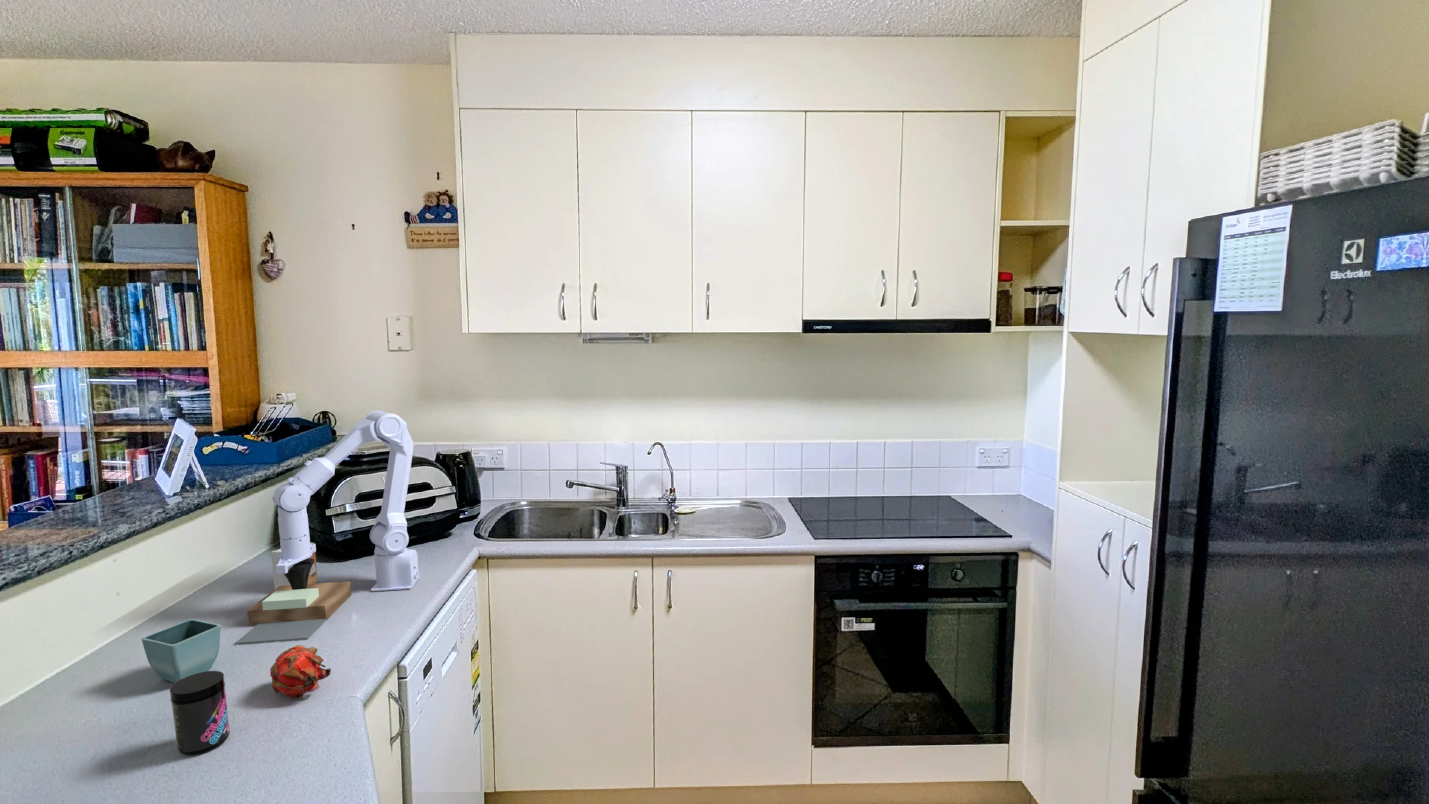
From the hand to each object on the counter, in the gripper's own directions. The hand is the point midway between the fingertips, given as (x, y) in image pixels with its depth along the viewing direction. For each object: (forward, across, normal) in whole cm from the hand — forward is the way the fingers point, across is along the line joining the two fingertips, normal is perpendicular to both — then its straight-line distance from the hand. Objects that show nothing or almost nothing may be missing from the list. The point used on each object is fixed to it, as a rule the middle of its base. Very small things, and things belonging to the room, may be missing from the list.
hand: (300, 592), depth 153 cm
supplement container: (+5, +51, +8) cm, 51 cm away
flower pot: (+5, +28, -8) cm, 29 cm away
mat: (+4, +11, +1) cm, 12 cm away
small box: (+5, -15, -8) cm, 18 cm away
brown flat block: (+4, 0, 0) cm, 4 cm away
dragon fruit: (+5, +36, +16) cm, 40 cm away
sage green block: (+1, +4, 0) cm, 4 cm away
